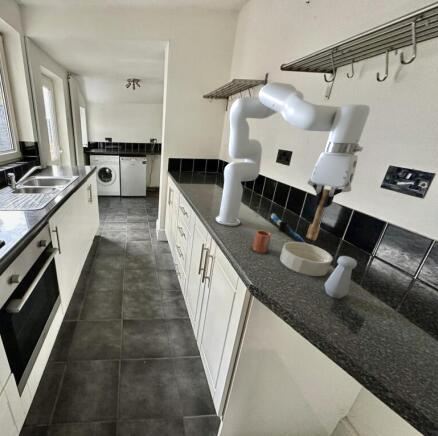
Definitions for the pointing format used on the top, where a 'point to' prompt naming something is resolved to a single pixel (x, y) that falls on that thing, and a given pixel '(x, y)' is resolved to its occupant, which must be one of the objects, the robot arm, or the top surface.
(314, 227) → the wooden spoon
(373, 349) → the top surface
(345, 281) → the salt shaker
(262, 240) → the pot
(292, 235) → the knife
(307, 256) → the bowl
